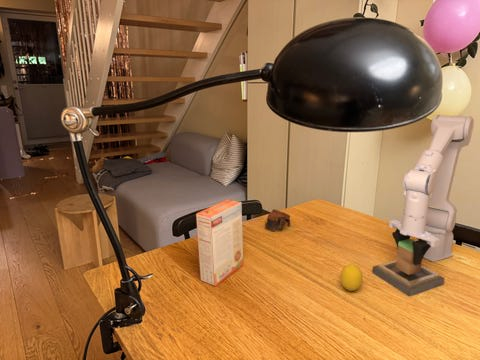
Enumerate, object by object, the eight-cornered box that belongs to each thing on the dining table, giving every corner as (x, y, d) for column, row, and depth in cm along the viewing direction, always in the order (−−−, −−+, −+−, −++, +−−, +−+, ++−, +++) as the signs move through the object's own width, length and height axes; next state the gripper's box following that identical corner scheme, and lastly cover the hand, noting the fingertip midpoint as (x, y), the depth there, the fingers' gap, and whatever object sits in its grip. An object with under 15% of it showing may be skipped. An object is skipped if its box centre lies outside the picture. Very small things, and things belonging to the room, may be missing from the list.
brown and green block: (407, 263, 100) (410, 238, 98) (420, 271, 96) (424, 245, 94) (395, 267, 98) (398, 241, 96) (408, 275, 94) (412, 248, 92)
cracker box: (228, 260, 109) (226, 198, 104) (244, 266, 106) (243, 201, 100) (198, 280, 98) (195, 212, 93) (215, 287, 95) (212, 216, 89)
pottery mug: (259, 226, 136) (267, 207, 137) (280, 234, 138) (287, 215, 139) (270, 230, 125) (278, 209, 125) (292, 239, 127) (300, 218, 128)
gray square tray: (404, 263, 106) (405, 254, 105) (443, 284, 95) (445, 275, 94) (372, 272, 101) (373, 264, 100) (409, 296, 90) (410, 287, 89)
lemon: (362, 298, 89) (365, 270, 87) (340, 295, 90) (342, 268, 88) (359, 286, 95) (362, 259, 92) (338, 284, 96) (340, 258, 93)
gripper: (383, 208, 97) (378, 251, 101) (428, 226, 85) (421, 275, 88) (401, 204, 100) (396, 246, 104) (448, 221, 87) (440, 269, 91)
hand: (409, 259), depth 96 cm, fingers closed on brown and green block, 4 cm apart
